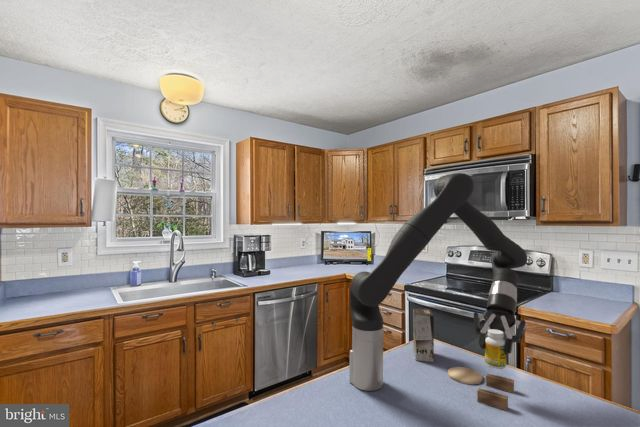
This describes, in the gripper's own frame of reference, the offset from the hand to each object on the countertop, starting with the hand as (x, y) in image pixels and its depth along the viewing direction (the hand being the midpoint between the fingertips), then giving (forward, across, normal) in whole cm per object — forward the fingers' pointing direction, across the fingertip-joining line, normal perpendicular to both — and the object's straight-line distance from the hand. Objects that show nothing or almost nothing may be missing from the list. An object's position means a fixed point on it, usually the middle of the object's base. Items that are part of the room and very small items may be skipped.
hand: (494, 350), depth 92 cm
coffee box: (-1, -26, +20) cm, 33 cm away
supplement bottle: (+2, 0, +5) cm, 5 cm away
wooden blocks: (+8, 0, +11) cm, 13 cm away
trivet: (+3, -10, +15) cm, 18 cm away
